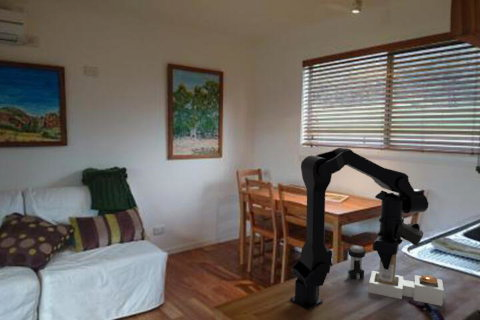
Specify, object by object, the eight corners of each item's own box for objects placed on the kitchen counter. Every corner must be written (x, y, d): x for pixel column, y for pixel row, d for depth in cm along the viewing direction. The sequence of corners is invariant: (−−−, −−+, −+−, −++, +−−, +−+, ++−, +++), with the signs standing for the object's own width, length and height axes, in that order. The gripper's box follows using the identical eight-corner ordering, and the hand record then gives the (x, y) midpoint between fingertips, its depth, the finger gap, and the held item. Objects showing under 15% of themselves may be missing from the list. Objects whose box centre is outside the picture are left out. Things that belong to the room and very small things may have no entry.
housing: (368, 292, 107) (369, 277, 106) (371, 279, 115) (372, 266, 114) (442, 307, 99) (444, 291, 99) (440, 293, 107) (441, 278, 107)
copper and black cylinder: (419, 298, 104) (421, 279, 103) (419, 292, 107) (421, 274, 106) (435, 301, 102) (437, 282, 101) (435, 295, 106) (436, 276, 105)
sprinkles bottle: (396, 289, 109) (400, 245, 107) (390, 294, 106) (393, 249, 104) (381, 283, 112) (385, 241, 110) (374, 288, 109) (377, 244, 107)
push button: (350, 283, 112) (351, 251, 111) (339, 276, 117) (341, 245, 116) (367, 280, 115) (369, 249, 113) (356, 273, 120) (358, 243, 118)
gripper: (420, 227, 94) (415, 286, 96) (424, 211, 110) (420, 261, 112) (374, 220, 100) (370, 275, 102) (385, 205, 116) (381, 253, 118)
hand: (387, 266), depth 108 cm, fingers closed on sprinkles bottle, 4 cm apart
